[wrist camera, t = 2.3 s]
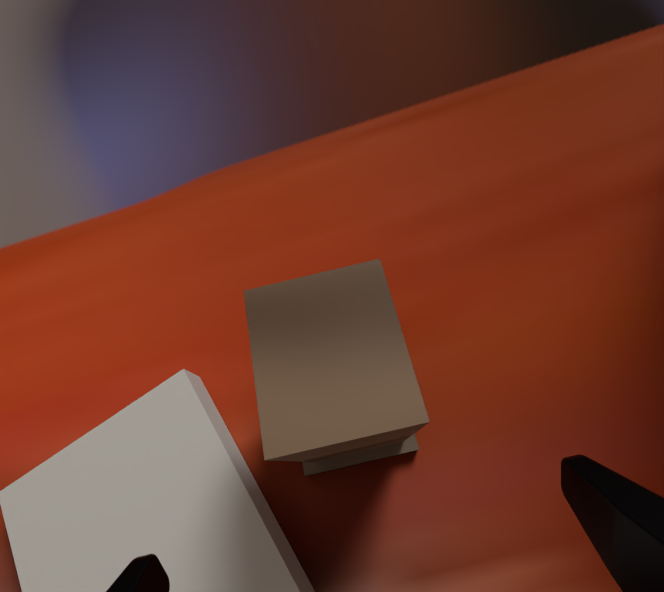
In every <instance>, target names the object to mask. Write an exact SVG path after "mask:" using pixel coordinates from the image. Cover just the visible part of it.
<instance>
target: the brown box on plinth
mask: <svg viewBox="0 0 664 592" xmlns="http://www.w3.org/2000/svg"><path fill="white" fill-rule="evenodd" d="M244 298H245V306H246V314H247V322H248V330H249V338H250V347H251V355H252V363H253V371H254V379H255V387H256V396H257V404H258V412H259V420H260V428H261V436H262V444H263V453H264V460H271V461H299V462H302V464H303V470H304V476H308V475H312V474H316V473H321V472H325V471H329V470H334V469H338V468H342V467H347V466H351V465H355V464H360V463H364V462H368V461H373V460H377V459H381V458H385V457H390V456H394V455H398V454H403V453H407V452H411V451H416V450H419V447H418V444H417V440H416V437H415V433H416V432H417V431H418V430H420V429H421V428H422V427H423V426H425V425H426V424H427V423H429V422H430V421H429V418H428V415H427V412H426V408H425V405H424V402H423V399H422V395H421V392H420V389H419V385H418V382H417V379H416V376H415V372H414V369H413V366H412V363H411V359H410V356H409V353H408V349H407V346H406V343H405V340H404V336H403V333H402V330H401V327H400V323H399V320H398V317H397V313H396V310H395V307H394V304H393V300H392V297H391V294H390V291H389V287H388V284H387V281H386V277H385V274H384V271H383V268H382V264H381V261H380V259H377V260H373V261H369V262H364V263H360V264H356V265H352V266H347V267H343V268H339V269H335V270H330V271H326V272H322V273H318V274H313V275H309V276H305V277H300V278H296V279H292V280H288V281H283V282H279V283H275V284H271V285H266V286H262V287H258V288H254V289H249V290H245V291H244Z"/></svg>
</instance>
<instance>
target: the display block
mask: <svg viewBox="0 0 664 592" xmlns="http://www.w3.org/2000/svg"><path fill="white" fill-rule="evenodd" d="M0 504H1V508H2V513H3V517H4V521H5V525H6V529H7V533H8V537H9V541H10V545H11V549H12V553H13V557H14V561H15V565H16V569H17V573H18V578H19V582H20V586H21V590H22V592H106V591H107V590H108V588H109V587H110V586H111V585H112V584H113V582H114V581H115V580H116V579H117V578H118V576H119V575H120V574H121V573H122V572H123V570H124V569H125V568H126V567H127V566H128V564H129V563H130V562H131V561H132V560H133V559H134V558H136V557H139V556H143V555H147V554H155V555H156V556H157V557H158V559H159V561H160V563H161V564H162V566H163V568H164V570H165V571H166V573H167V575H168V577H169V582H170V590H169V592H315V591H314V589H313V587H312V585H311V583H310V581H309V579H308V578H307V576H306V574H305V572H304V570H303V568H302V566H301V565H300V563H299V561H298V559H297V557H296V555H295V553H294V552H293V550H292V548H291V546H290V544H289V542H288V540H287V539H286V537H285V535H284V533H283V531H282V529H281V527H280V526H279V524H278V522H277V520H276V518H275V516H274V514H273V512H272V511H271V509H270V507H269V505H268V503H267V501H266V499H265V498H264V496H263V494H262V492H261V490H260V488H259V486H258V485H257V483H256V481H255V479H254V477H253V475H252V473H251V472H250V470H249V468H248V466H247V464H246V462H245V460H244V458H243V457H242V455H241V453H240V451H239V449H238V447H237V445H236V444H235V442H234V440H233V438H232V436H231V434H230V432H229V431H228V429H227V427H226V425H225V423H224V421H223V419H222V418H221V416H220V414H219V412H218V410H217V408H216V406H215V405H214V403H213V401H212V399H211V397H210V395H209V393H208V391H207V390H206V388H205V386H204V384H203V382H202V380H201V378H200V377H199V376H197V375H195V374H193V373H191V372H189V371H187V370H185V369H182V370H181V371H179V372H178V373H176V374H175V375H173V376H172V377H170V378H169V379H167V380H166V381H164V382H163V383H161V384H160V385H159V386H157V387H156V388H154V389H153V390H151V391H150V392H148V393H147V394H145V395H144V396H142V397H141V398H139V399H138V400H136V401H135V402H133V403H132V404H130V405H129V406H127V407H126V408H124V409H123V410H121V411H120V412H118V413H117V414H115V415H114V416H112V417H111V418H109V419H108V420H106V421H105V422H103V423H102V424H100V425H99V426H97V427H96V428H94V429H93V430H91V431H90V432H88V433H87V434H85V435H84V436H82V437H81V438H79V439H78V440H76V441H75V442H73V443H72V444H70V445H69V446H67V447H66V448H64V449H63V450H61V451H60V452H58V453H57V454H55V455H54V456H52V457H51V458H49V459H48V460H46V461H45V462H43V463H42V464H40V465H39V466H37V467H36V468H34V469H33V470H31V471H30V472H28V473H27V474H25V475H24V476H22V477H21V478H19V479H18V480H16V481H15V482H13V483H12V484H10V485H9V486H7V487H6V488H4V489H3V490H1V491H0Z"/></svg>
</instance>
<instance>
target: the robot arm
mask: <svg viewBox="0 0 664 592" xmlns="http://www.w3.org/2000/svg"><path fill="white" fill-rule="evenodd" d="M561 487H562V491H563V494H564V496H565V498H566V500H567V502H568V503H569V505H570V507H571V508H572V510H573V512H574V513H575V515H576V517H577V518H578V520H579V522H580V524H581V525H582V527H583V529H584V530H585V532H586V534H587V535H588V537H589V539H590V540H591V542H592V544H593V546H594V547H595V549H596V551H597V552H598V554H599V556H600V557H601V559H602V561H603V562H604V564H605V566H606V567H607V569H608V570H609V572H610V574H611V575H612V577H613V578H614V580H615V581H616V583H617V584H618V585H619V587H620V588H621V590H622V591H623V592H664V498H663V497H661V496H659V495H657V494H655V493H653V492H652V491H650V490H648V489H646V488H644V487H642V486H640V485H639V484H637V483H635V482H633V481H631V480H629V479H627V478H625V477H624V476H622V475H620V474H618V473H616V472H614V471H612V470H610V469H609V468H607V467H605V466H603V465H601V464H599V463H597V462H596V461H594V460H592V459H590V458H588V457H586V456H583V455H575V456H570V457H566V458H563V460H562V461H561ZM169 590H170V582H169V577H168V575H167V573H166V571H165V570H164V568H163V566H162V564H161V563H160V561H159V559H158V557H157V556H156V555H155V554H147V555H143V556H139V557H136V558H134V559H133V560H132V561H131V562H130V563H129V564H128V566H127V567H126V568H125V569H124V570H123V572H122V573H121V574H120V575H119V576H118V578H117V579H116V580H115V581H114V582H113V584H112V585H111V586H110V587H109V588H108V590H107V591H106V592H169Z"/></svg>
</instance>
